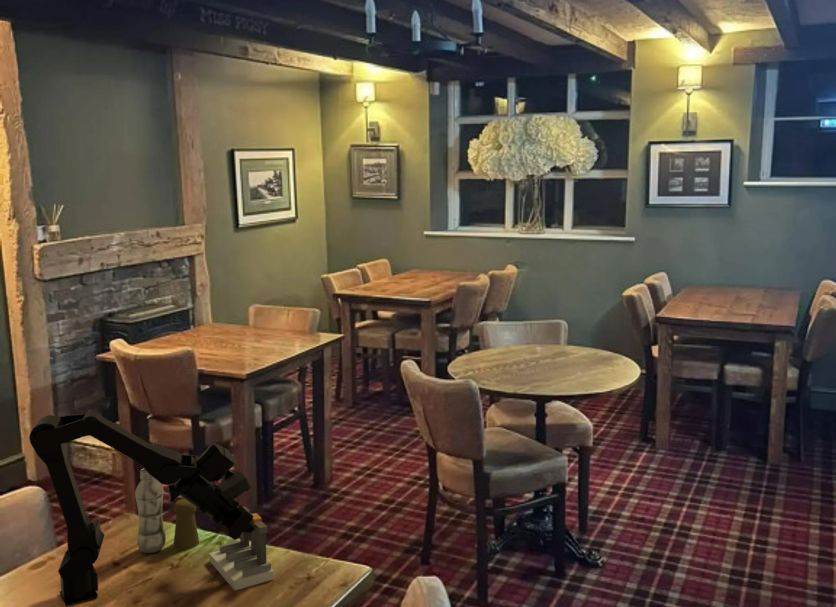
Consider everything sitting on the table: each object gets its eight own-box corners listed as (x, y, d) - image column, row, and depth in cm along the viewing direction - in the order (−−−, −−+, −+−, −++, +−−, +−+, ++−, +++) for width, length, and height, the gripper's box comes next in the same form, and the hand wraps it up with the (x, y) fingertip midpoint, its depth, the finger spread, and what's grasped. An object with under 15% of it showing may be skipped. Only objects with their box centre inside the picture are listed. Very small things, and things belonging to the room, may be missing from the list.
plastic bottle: (131, 554, 189) (127, 473, 186) (149, 542, 196) (145, 463, 193) (155, 558, 187) (151, 476, 184) (172, 545, 194) (168, 466, 191)
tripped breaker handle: (255, 560, 182) (253, 519, 180) (249, 554, 184) (248, 514, 183) (262, 558, 183) (261, 517, 181) (257, 552, 185) (255, 512, 184)
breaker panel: (234, 590, 173) (234, 575, 172) (209, 561, 186) (209, 547, 186) (273, 579, 178) (273, 564, 177) (246, 551, 191) (245, 537, 190)
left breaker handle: (243, 552, 186) (242, 512, 184) (238, 547, 188) (237, 507, 187) (251, 550, 187) (250, 510, 185) (245, 545, 189) (244, 506, 188)
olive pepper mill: (203, 538, 198) (201, 496, 196) (193, 549, 192) (192, 506, 190) (179, 537, 198) (177, 495, 197) (169, 548, 192) (167, 505, 191)
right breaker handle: (260, 569, 177) (259, 528, 176) (255, 564, 180) (254, 523, 178) (268, 567, 178) (267, 526, 177) (262, 562, 181) (261, 521, 179)
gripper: (242, 477, 169) (292, 515, 177) (212, 452, 184) (259, 488, 192) (207, 521, 166) (259, 558, 174) (179, 492, 181) (228, 527, 189)
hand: (252, 530), depth 182 cm, fingers closed, pressing on tripped breaker handle
